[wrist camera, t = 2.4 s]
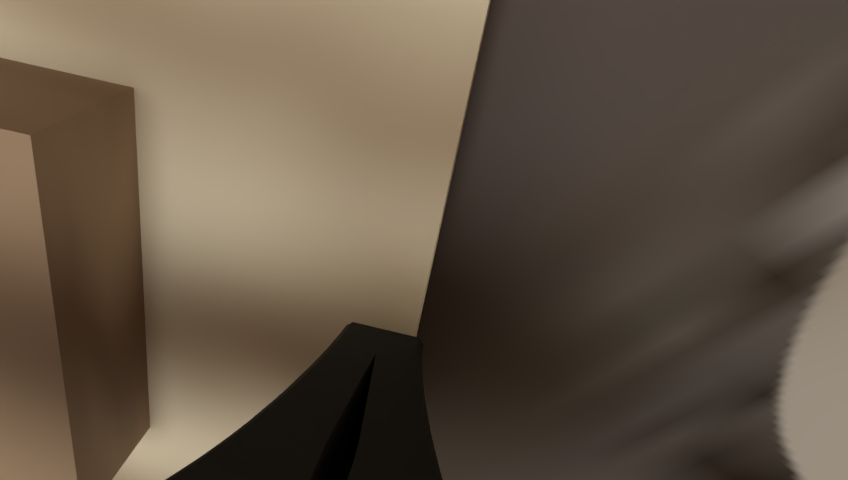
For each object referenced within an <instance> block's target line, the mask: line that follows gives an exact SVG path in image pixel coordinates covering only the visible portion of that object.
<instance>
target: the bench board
mask: <svg viewBox="0 0 848 480" xmlns="http://www.w3.org/2000/svg"><path fill="white" fill-rule="evenodd" d="M490 3H491V0H0V58H5V59H9V60H14V61H18V62H22V63H27V64H31V65H36V66H40V67H45V68H49V69H53V70H58V71H62V72H67V73H71V74H76V75H80V76H84V77H89V78H93V79H98V80H102V81H107V82H111V83H115V84H120V85H124V86H129V87H133V88H134V102H135V122H136V143H137V164H138V185H139V206H140V227H141V248H142V268H143V289H144V310H145V331H146V352H147V373H148V394H149V414H150V428H149V429H148V431H147V432H146V433H145V435H144V436H143V438H142V439H141V440H140V442H139V443H138V445H137V446H136V447H135V449H134V450H133V451H132V453H131V454H130V456H129V457H128V458H127V460H126V461H125V463H124V464H123V465H122V467H121V468H120V469H119V471H118V472H117V474H116V475H115V476H114V478H113V479H112V480H165V479H167V478H168V477H170V476H172V475H173V474H175V473H176V472H178V471H179V470H181V469H183V468H184V467H186V466H187V465H189V464H190V463H192V462H193V461H195V460H196V459H198V458H199V457H201V456H202V455H204V454H205V453H207V452H208V451H209V450H211V449H212V448H214V447H215V446H216V445H218V444H219V443H221V442H222V441H223V440H225V439H226V438H227V437H229V436H230V435H231V434H233V433H234V432H235V431H237V430H238V429H239V428H241V427H242V426H243V425H244V424H246V423H247V422H248V421H249V420H251V419H252V418H253V417H254V416H255V415H257V414H258V413H259V412H260V411H261V410H262V409H264V408H265V407H266V406H267V405H268V404H270V403H271V402H272V401H273V400H274V399H275V398H277V397H278V396H279V395H280V394H281V393H282V392H283V391H285V390H286V389H287V388H288V387H289V386H290V385H291V384H292V383H293V382H294V381H295V380H296V379H297V378H298V377H299V376H300V375H301V374H302V373H303V372H305V371H306V370H307V369H308V368H309V367H310V366H311V365H312V364H313V363H314V362H315V361H316V360H317V358H318V357H319V356H320V355H321V354H322V353H323V352H324V351H325V350H326V349H327V348H328V347H329V346H330V345H331V343H332V342H333V341H334V340H335V339H336V338H337V336H338V335H339V334H340V333H341V331H342V330H343V329H344V328H345V326H346V325H348V324H350V323H352V322H355V323H360V324H364V325H368V326H372V327H376V328H381V329H385V330H389V331H393V332H397V333H402V334H406V335H410V336H414V337H417V332H418V328H419V323H420V319H421V314H422V310H423V305H424V301H425V296H426V292H427V287H428V283H429V278H430V274H431V269H432V265H433V260H434V256H435V251H436V247H437V242H438V238H439V233H440V229H441V224H442V220H443V215H444V211H445V206H446V202H447V197H448V193H449V188H450V184H451V179H452V174H453V170H454V165H455V161H456V156H457V152H458V147H459V143H460V138H461V134H462V129H463V125H464V120H465V116H466V111H467V107H468V102H469V98H470V93H471V89H472V84H473V80H474V75H475V71H476V66H477V62H478V57H479V53H480V48H481V44H482V39H483V35H484V30H485V26H486V21H487V17H488V12H489V8H490Z"/></svg>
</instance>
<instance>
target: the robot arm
mask: <svg viewBox="0 0 848 480" xmlns="http://www.w3.org/2000/svg"><path fill="white" fill-rule="evenodd" d="M422 349H423V343H422V342H421V340H420V339H419V337H414V336H410V335H406V334H402V333H397V332H393V331H389V330H385V329H381V328H376V327H372V326H368V325H364V324H360V323H355V322H352V323H350V324H348V325H346V326H345V328H344V329H343V330H342V331H341V333H340V334H339V335H338V336H337V338H336V339H335V340H334V341H333V342H332V343H331V345H330V346H329V347H328V348H327V349H326V350H325V351H324V352H323V353H322V354H321V355H320V356H319V357H318V358H317V360H316V361H315V362H314V363H313V364H312V365H311V366H310V367H309V368H308V369H307V370H306V371H305V372H303V373H302V374H301V375H300V376H299V377H298V378H297V379H296V380H295V381H294V382H293V383H292V384H291V385H290V386H289V387H288V388H287V389H286V390H285V391H283V392H282V393H281V394H280V395H279V396H278V397H277V398H275V399H274V400H273V401H272V402H271V403H270V404H268V405H267V406H266V407H265V408H264V409H262V410H261V411H260V412H259V413H258V414H257V415H255V416H254V417H253V418H252V419H251V420H249V421H248V422H247V423H246V424H244V425H243V426H242V427H241V428H239V429H238V430H237V431H235V432H234V433H233V434H231V435H230V436H229V437H227V438H226V439H225V440H223V441H222V442H221V443H219V444H218V445H216V446H215V447H214V448H212V449H211V450H209V451H208V452H207V453H205V454H204V455H202V456H201V457H199V458H198V459H196V460H195V461H193V462H192V463H190V464H189V465H187V466H186V467H184V468H183V469H181V470H179V471H178V472H176V473H175V474H173V475H172V476H170V477H168V478H167V479H165V480H442V476H441V473H440V469H439V465H438V461H437V457H436V453H435V450H434V445H433V441H432V436H431V431H430V426H429V420H428V415H427V409H426V403H425V396H424V388H423V377H422Z"/></svg>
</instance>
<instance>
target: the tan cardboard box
mask: <svg viewBox="0 0 848 480" xmlns="http://www.w3.org/2000/svg"><path fill="white" fill-rule="evenodd" d="M149 428H150V414H149V394H148V373H147V352H146V331H145V310H144V289H143V268H142V248H141V227H140V206H139V185H138V164H137V143H136V122H135V102H134V88H133V87H129V86H124V85H120V84H115V83H111V82H107V81H102V80H98V79H93V78H89V77H84V76H80V75H76V74H71V73H67V72H62V71H58V70H53V69H49V68H45V67H40V66H36V65H31V64H27V63H22V62H18V61H14V60H9V59H5V58H0V480H112V479H113V478H114V476H115V475H116V474H117V472H118V471H119V469H120V468H121V467H122V465H123V464H124V463H125V461H126V460H127V458H128V457H129V456H130V454H131V453H132V451H133V450H134V449H135V447H136V446H137V445H138V443H139V442H140V440H141V439H142V438H143V436H144V435H145V433H146V432H147V431H148V429H149Z"/></svg>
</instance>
